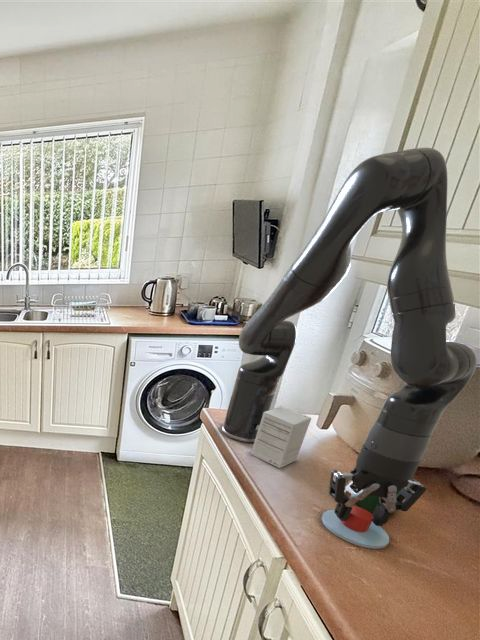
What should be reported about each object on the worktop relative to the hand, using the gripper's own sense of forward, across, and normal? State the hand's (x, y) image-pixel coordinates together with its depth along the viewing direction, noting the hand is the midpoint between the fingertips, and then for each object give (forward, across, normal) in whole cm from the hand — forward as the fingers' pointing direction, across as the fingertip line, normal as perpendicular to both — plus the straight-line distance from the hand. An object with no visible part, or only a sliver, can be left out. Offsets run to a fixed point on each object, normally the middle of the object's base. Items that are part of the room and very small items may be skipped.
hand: (357, 520), depth 80 cm
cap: (+2, 0, 0) cm, 2 cm away
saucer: (+2, 0, 0) cm, 2 cm away
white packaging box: (+3, +5, -25) cm, 26 cm away
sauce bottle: (+2, -8, -9) cm, 13 cm away
